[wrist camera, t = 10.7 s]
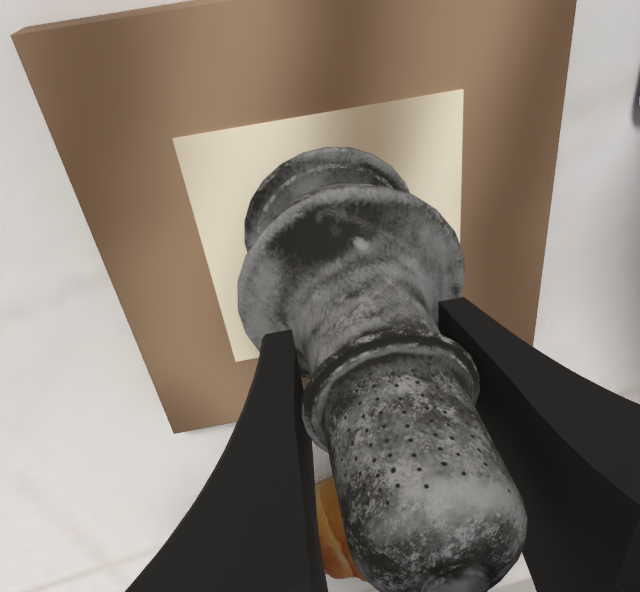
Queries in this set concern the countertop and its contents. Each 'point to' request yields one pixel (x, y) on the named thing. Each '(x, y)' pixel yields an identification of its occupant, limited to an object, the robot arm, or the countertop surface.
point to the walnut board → (295, 149)
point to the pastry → (333, 533)
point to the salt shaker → (382, 369)
